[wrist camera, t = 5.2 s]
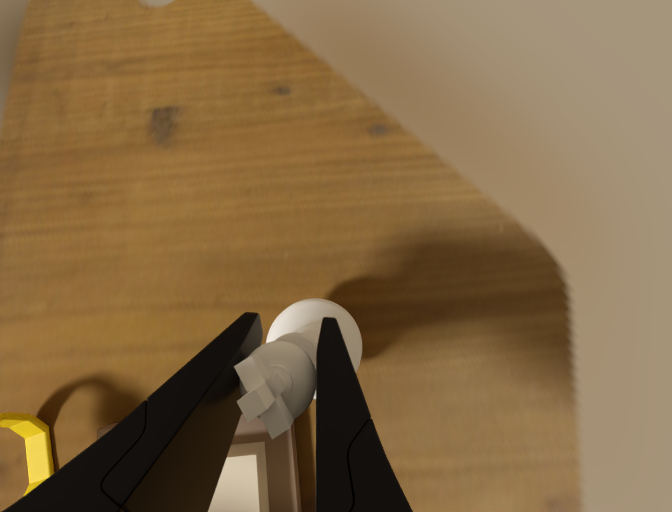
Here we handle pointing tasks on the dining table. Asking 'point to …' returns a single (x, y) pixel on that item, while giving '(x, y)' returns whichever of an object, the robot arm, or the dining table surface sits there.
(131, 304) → the dining table surface
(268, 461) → the build base
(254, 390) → the chess piece
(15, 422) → the watch
